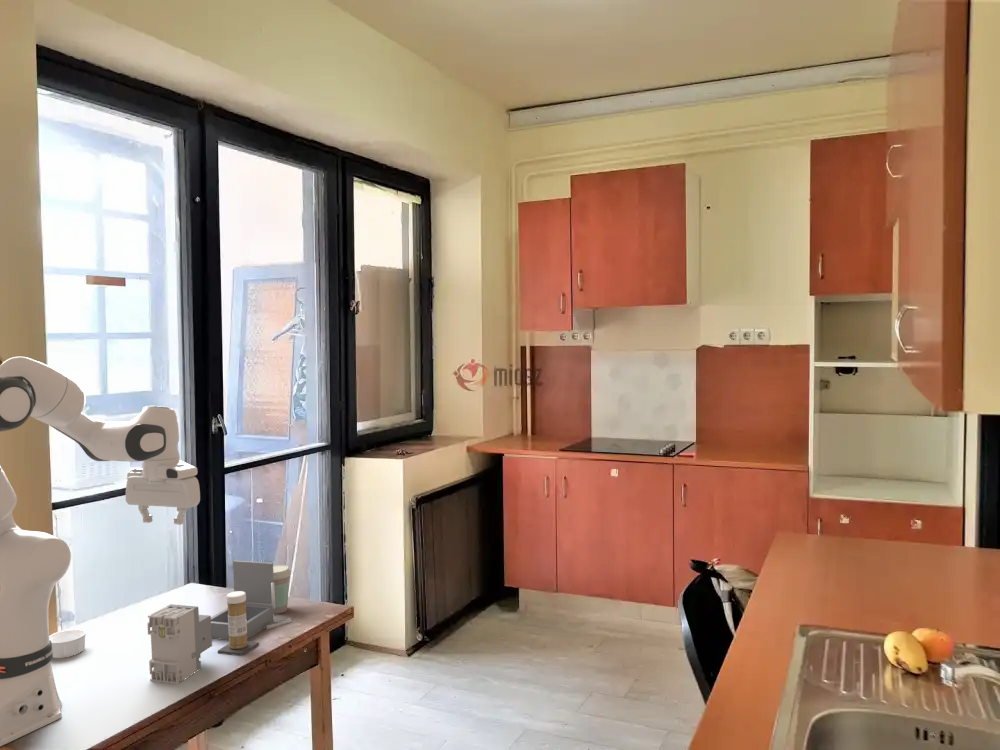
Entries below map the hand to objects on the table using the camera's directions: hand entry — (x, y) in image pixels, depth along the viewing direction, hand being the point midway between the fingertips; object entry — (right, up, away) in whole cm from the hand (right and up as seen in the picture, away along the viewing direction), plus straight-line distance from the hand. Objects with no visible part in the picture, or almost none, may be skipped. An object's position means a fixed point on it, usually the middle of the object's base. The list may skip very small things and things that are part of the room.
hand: (163, 523), depth 202 cm
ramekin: (-23, -32, -3) cm, 39 cm away
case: (+16, -30, +10) cm, 35 cm away
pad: (+20, -31, -3) cm, 37 cm away
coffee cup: (+22, -29, +24) cm, 44 cm away
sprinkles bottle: (+20, -30, -3) cm, 37 cm away
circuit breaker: (+11, -32, -15) cm, 37 cm away
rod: (+26, -30, +12) cm, 41 cm away
